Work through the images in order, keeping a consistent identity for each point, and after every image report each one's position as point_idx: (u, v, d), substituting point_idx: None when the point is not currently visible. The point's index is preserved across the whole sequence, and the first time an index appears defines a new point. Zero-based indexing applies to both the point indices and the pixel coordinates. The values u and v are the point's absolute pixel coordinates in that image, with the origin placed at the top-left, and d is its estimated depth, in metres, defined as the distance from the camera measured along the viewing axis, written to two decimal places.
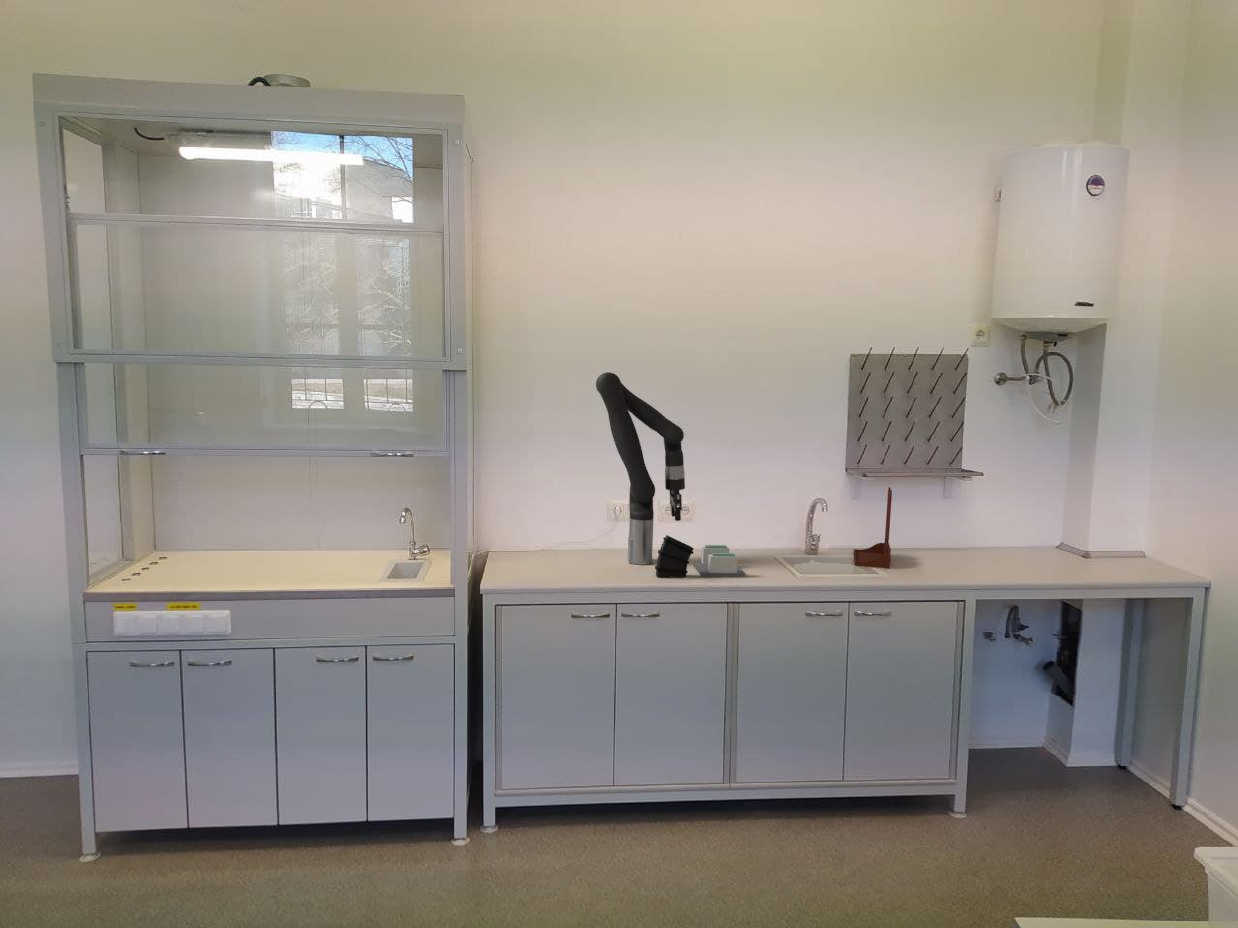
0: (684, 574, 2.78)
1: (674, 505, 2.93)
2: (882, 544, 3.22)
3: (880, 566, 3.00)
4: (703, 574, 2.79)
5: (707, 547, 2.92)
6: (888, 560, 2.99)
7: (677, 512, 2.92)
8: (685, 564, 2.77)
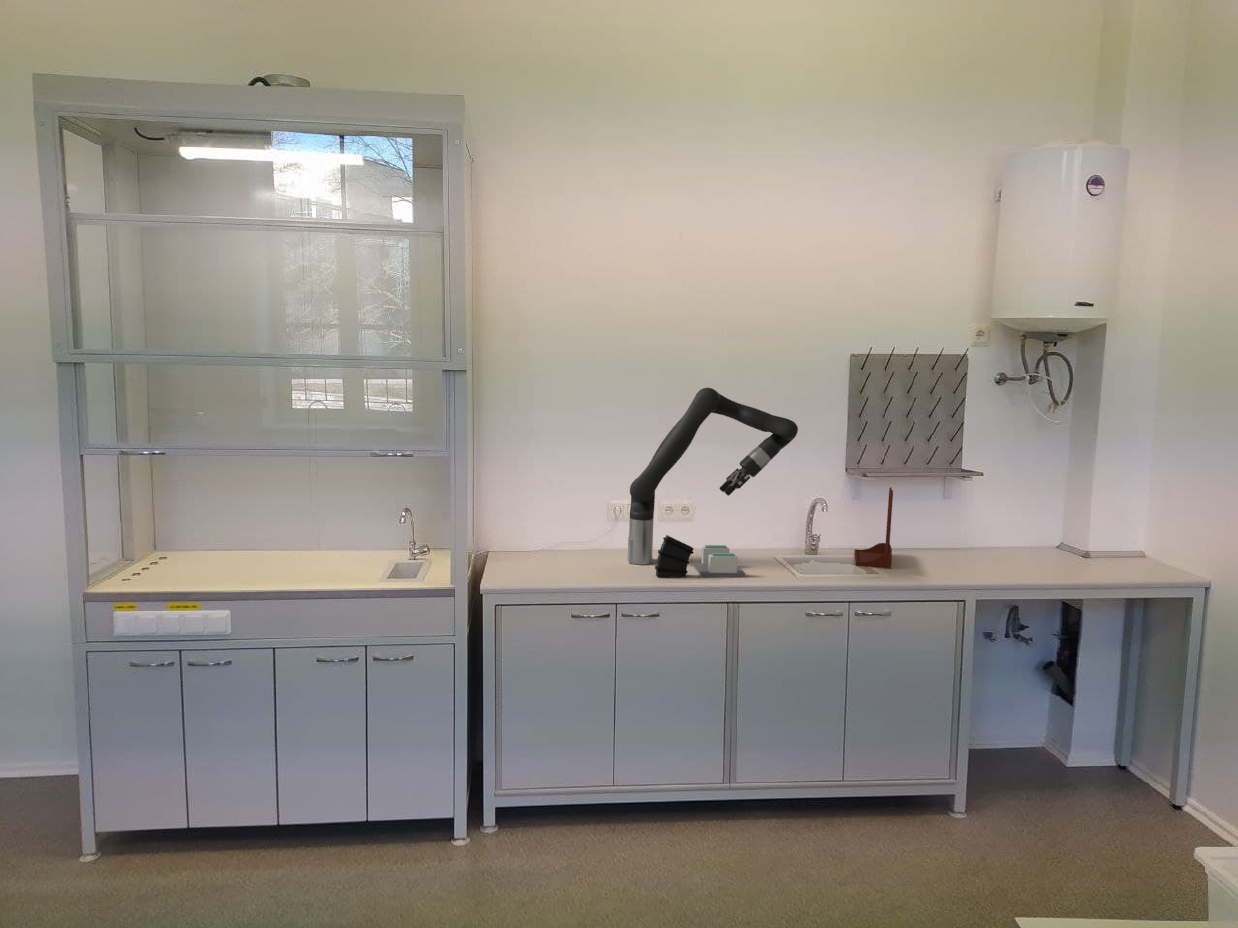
0: (684, 574, 2.78)
1: (735, 480, 2.79)
2: (883, 544, 3.22)
3: (881, 566, 3.00)
4: (703, 574, 2.79)
5: (707, 547, 2.92)
6: (889, 560, 2.99)
7: (732, 487, 2.78)
8: (685, 564, 2.77)
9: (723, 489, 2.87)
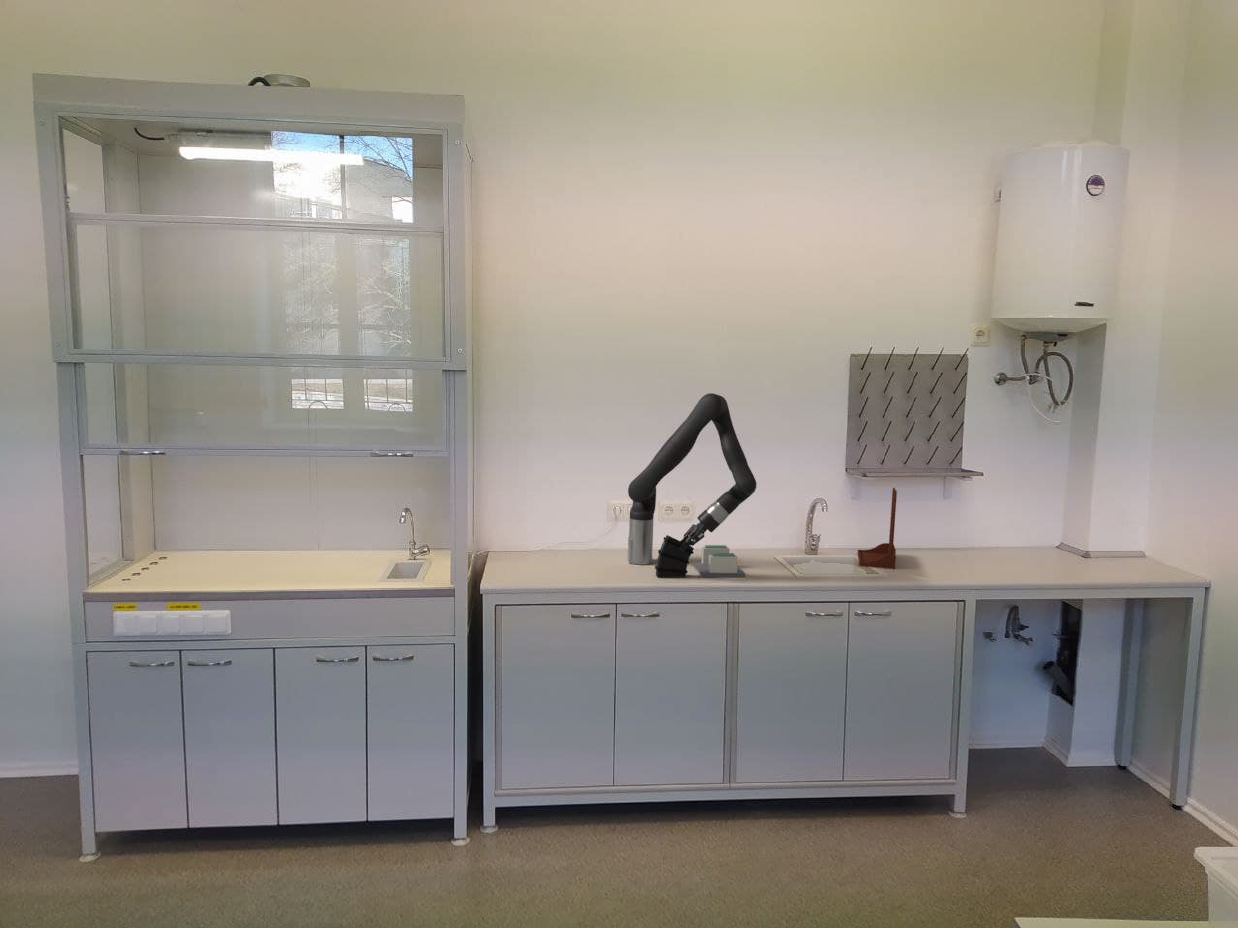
0: (684, 574, 2.78)
1: (690, 537, 2.75)
2: (886, 544, 3.21)
3: (885, 566, 3.00)
4: (703, 574, 2.79)
5: (707, 547, 2.92)
6: (893, 560, 2.99)
7: (686, 544, 2.75)
8: (685, 564, 2.77)
9: None
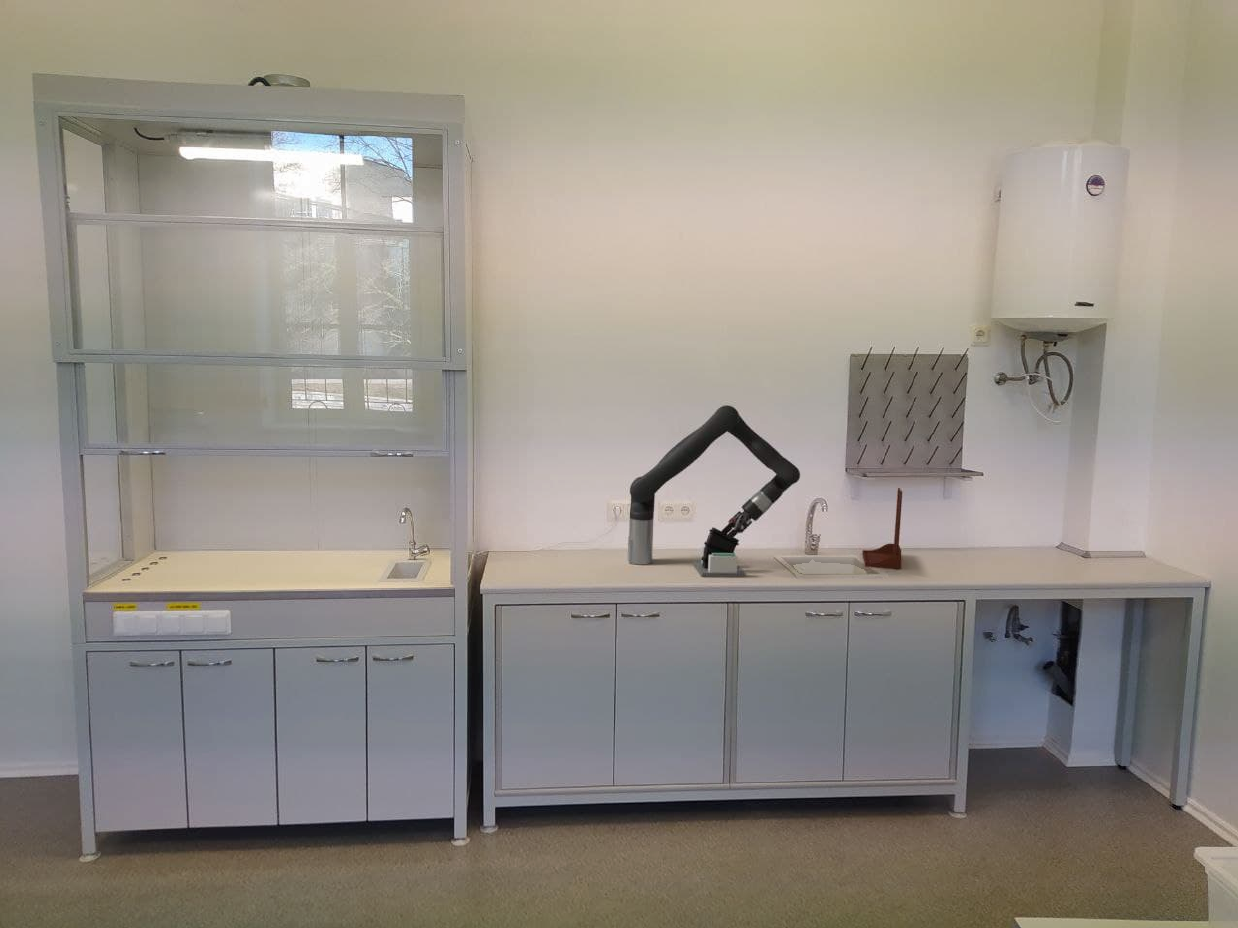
0: None
1: (737, 524, 2.82)
2: (891, 545, 3.21)
3: (891, 567, 2.99)
4: (703, 574, 2.79)
5: None
6: (899, 561, 2.98)
7: (735, 531, 2.81)
8: None
9: (725, 532, 2.90)
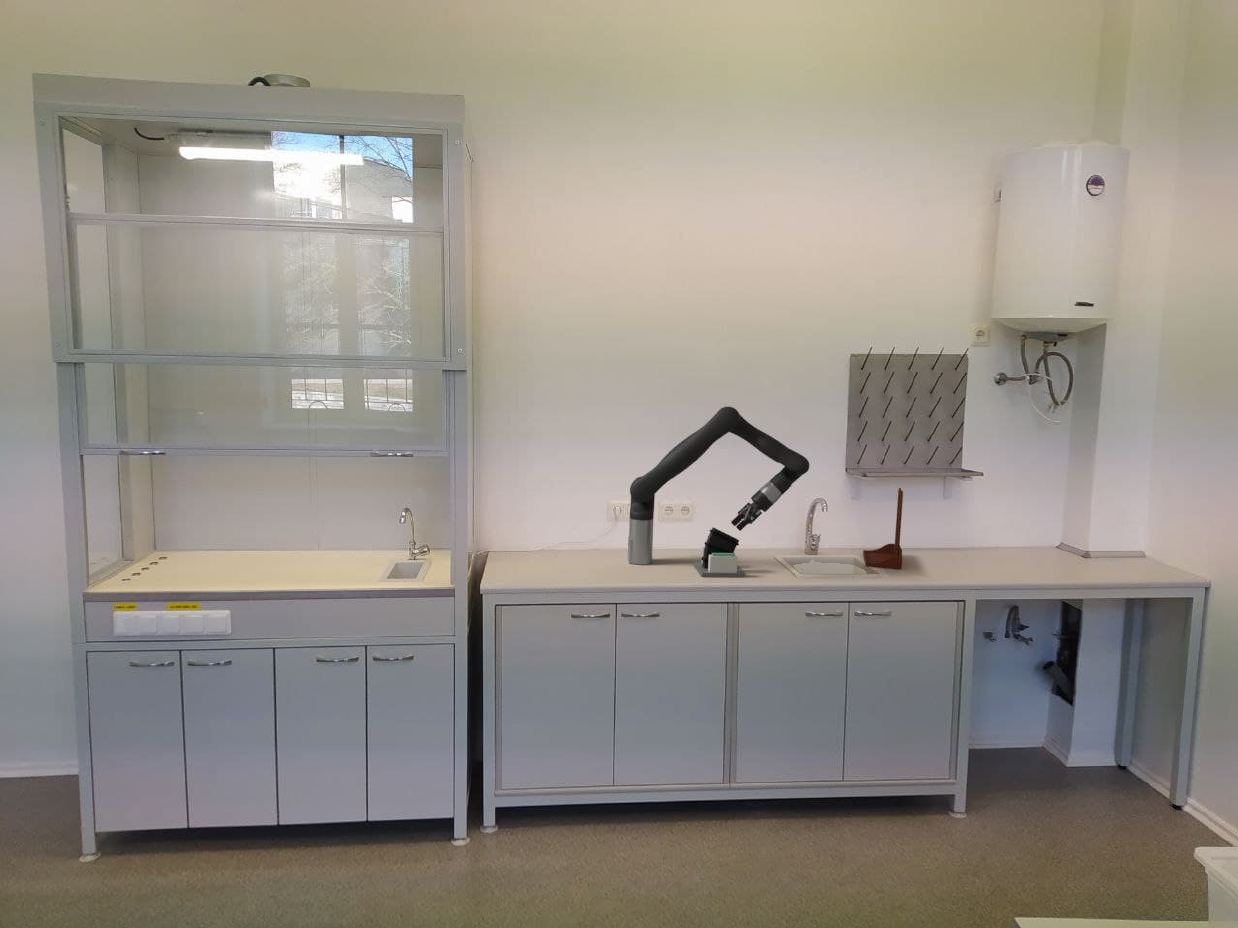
0: None
1: (747, 515, 2.82)
2: (892, 545, 3.21)
3: (891, 567, 2.99)
4: (703, 574, 2.79)
5: None
6: (899, 561, 2.98)
7: (744, 522, 2.81)
8: None
9: (735, 523, 2.90)
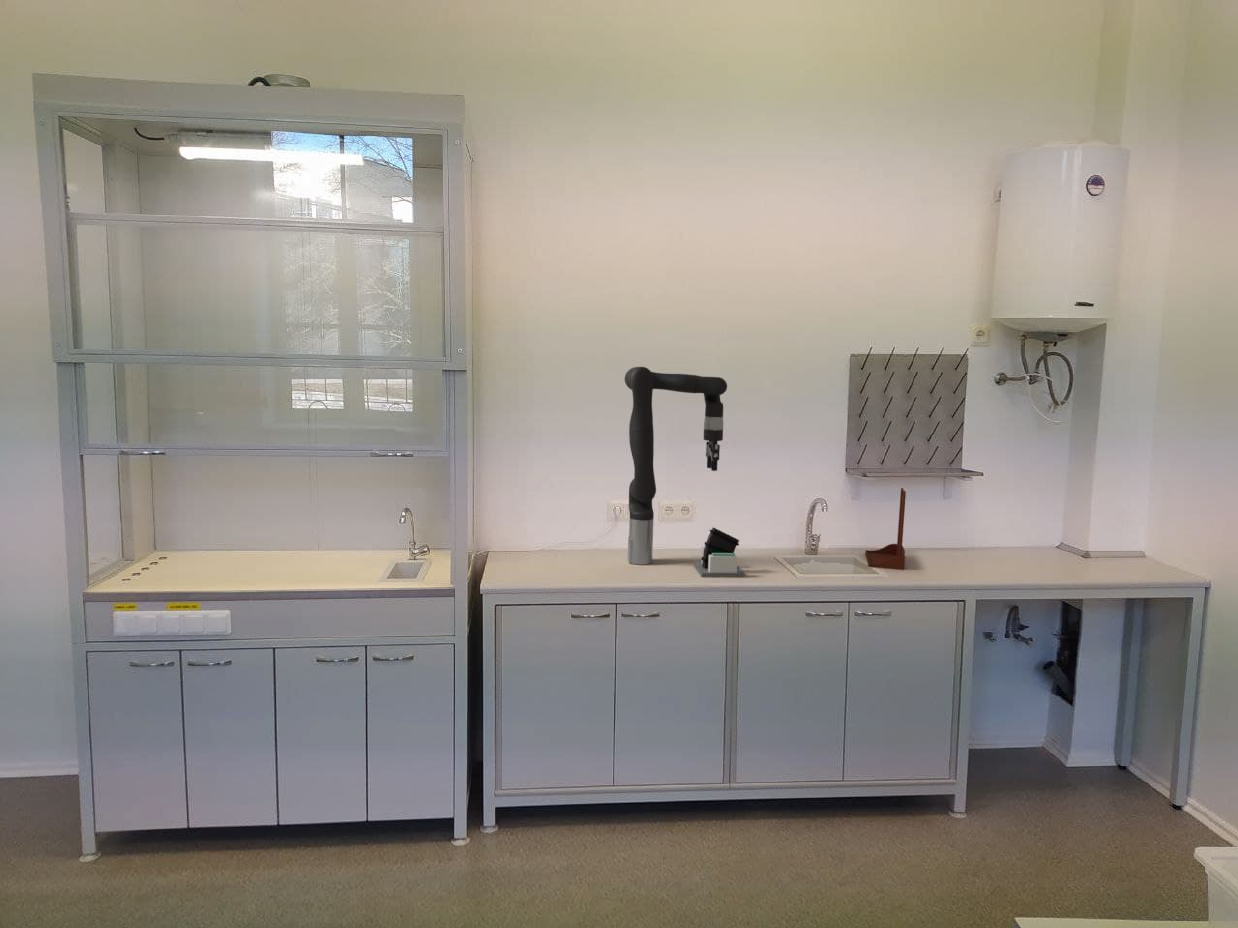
0: None
1: (711, 455, 2.98)
2: (894, 545, 3.21)
3: (894, 567, 2.99)
4: (703, 574, 2.79)
5: None
6: (902, 561, 2.98)
7: (714, 462, 2.97)
8: None
9: (710, 465, 3.07)
